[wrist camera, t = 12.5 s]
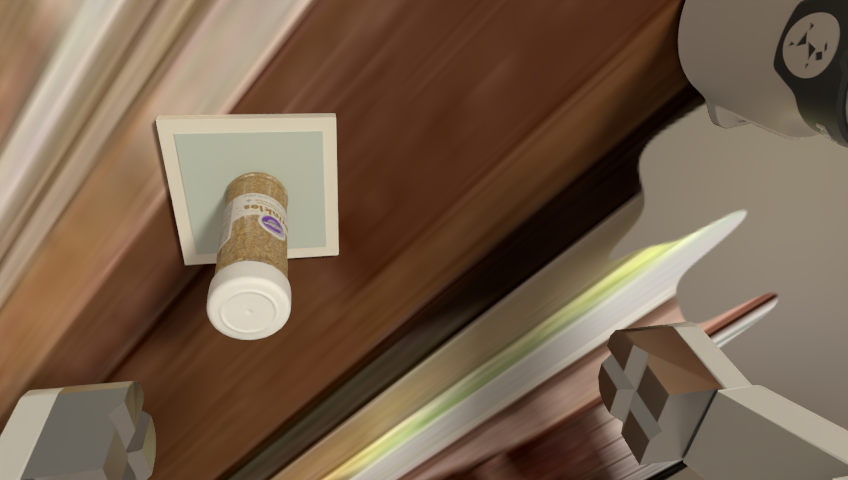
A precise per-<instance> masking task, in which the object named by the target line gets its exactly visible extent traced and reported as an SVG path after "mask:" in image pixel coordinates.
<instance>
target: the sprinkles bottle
mask: <svg viewBox="0 0 848 480" xmlns="http://www.w3.org/2000/svg"><path fill="white" fill-rule="evenodd" d="M225 200H226V207H225V211H224V214H223V220H222V226H221V233H220V239H219V246H218V252H217V259H216V261H217V264H216V269H215V276H214V278H213V279H212V281H211V283H210V286H209V292H208V298H207V314H208V317H209V320H210V321H211V323H212V324H213V326H214V327H215V328H216V329H217V330H219V331H220V332H221V333H223V334H225V335H227V336H229V337H232V338H236V339H242V340H255V339H261V338H264V337H267V336H269V335H272V334H274V333H275V332H276V331H278V330H279V329H280V328H282V327H283V325H284V324H285V323H286V321H287V320H288V317H289V315H290V311H291V288H290V284H289V282H288V279H287V277H288V275H287V272H288V265H287V264H288V263H287V261H288V260H287V258H288V257H287V249H288V218H287V206H288V194H287V192H286V189H285V188H284V186H283V185H282V183H281V182H280V181H279V180H278V179H276V178H275V177H274V176H272V175H269V174H267V173H261V172H249V173H246V174H243V175H241V176H239V177H237V178H236V179H235V180H233V181H232V182H231V183H230V184H229V186H228V189H227V191H226V197H225Z"/></svg>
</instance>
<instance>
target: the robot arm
mask: <svg viewBox="0 0 848 480" xmlns="http://www.w3.org/2000/svg"><path fill="white" fill-rule="evenodd" d="M678 51H679V57H680V62H681V65H682V68H683V71H684V73H685V75H686V77H687V78H688V80H689V81H690V83H691V84H692V85H693V86H694V87H695V88H696V89H697V90H698V91H699V92H700V93H701V94H702V95H703V97H704V98H705V100H706V103H707V108H708V112H709V116H710V118H711V121H712V122H713V123H714V124H715V125H717V126H720V127H723V128H732V127H736V126H741V125H745V124H750V123H752V124H754V125H756V126H758V127H761V128H763V129H766V130H768V131H770V132H772V133H775V134H777V135H779V136H782V137H784V138H787V139H790V140H799V139H800V138H802V137H811V136H815V135H818V134H823V135H824V136H825V137H827V138H828V139H830V140H831V141H833V142H835V143H837V144H839V145H842V146H844V147H848V0H686V1H685V4H684V7H683V10H682V14H681V19H680V24H679V32H678ZM607 347H608V348H609V350H610V351H611V353H612V354H611V355H610V356H609V357H608V358H607V359H606V360H605V361H604V362H603V363H602V364H601V368H600V372H599V376H598V379H599V391H600V394H601V397H602V400H603V402H604V404H605V406H606V408H607V410H608V411H609V413H610V414H611V415H613V416H614V417H616V418H617V419H619V420H620V421H622V422H623V426H622V432H621V434H622V436H623V437H624V439H625V441H626V443H627V444H628V446H629V448H630V449H631V451H632V453H633V455H634V456H635V458H636V460H637V461H638V463H639V465H643V464H651V463H659V462H667V461H675V460H683V459H684V461H683V462H684V463H685V464H686V465H687V466H689V467H690V468H691V469H692V470H694V471H695V472H696V473H697V474H699V475H700V476H701V477H703V478H704V479H705V480H848V431H847V430H845V429H843V428H841V427H839V426H838V425H836V424H834V423H832V422H830V421H828V420H826V419H824V418H822V417H820V416H818V415H816V414H814V413H813V412H811V411H809V410H807V409H805V408H803V407H801V406H799V405H797V404H795V403H793V402H791V401H790V400H788V399H786V398H784V397H782V396H780V395H778V394H776V393H774V392H772V391H770V390H769V389H767V388H765V387H762V386H760V385H754V386H752V385H751V384H750V383H749V382H748V381H747V379H746V378H745V377H744V376H743V375H742V374H741V373H740V372H739V370H738V369H737V368H736V367H735V366H734V365H733V364H732V362H731V361H730V360H729V359H728V358H727V357H726V356H725V355H724V353H723V352H722V351H721V350H720V349H719V348H718V347H717V346H716V344H715V343H714V342H713V341H712V340H711V339H710V338H709V337H708V335H707V334H706V333H705V332H704V331H703V330H702V329H701V328H700V326H698V325H697V324H695V323H693V322H683V323H674V324H666V325H656V326H648V327H639V328H630V329H622V330H616V331H615V332H614V333H613V334H612V335H611V336H610V339H609V342H608V345H607ZM143 401H144V394H143V392H142V389H141V386H140V384H139V382H135V381H130V382H117V383H105V384H93V385H81V386H68V387H64V388H52V389H39V390H29V391H28V392H27V393H26V394H24V395H23V396H22V397H21V398H20V399H19V401H18V403H17V405H16V407H15V409H14V411H13V413H12V415H11V417H10V418H9V420H8V422H7V424H6V426H5V428H4V430H3V432H2V434H1V436H0V480H147V479H148V478H149V477H150V476H151V474H152V470H153V465H154V460H155V447H156V437H155V429H154V424H153V421H152V418H151V415H149V414H147V413H146V412H144V411H142V410H141V408H142V404H143Z"/></svg>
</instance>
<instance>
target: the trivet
mask: <svg viewBox="0 0 848 480" xmlns="http://www.w3.org/2000/svg"><path fill="white" fill-rule="evenodd" d="M156 124H157V129H158V134H159V139H160V144H161V149H162V154H163V159H164V164H165V169H166V174H167V179H168V184H169V188H170V193H171V198H172V203H173V208H174V213H175V218H176V223H177V228H178V233H179V238H180V243H181V248H182V252H183V257H184V262H185V265H196V264H211V263H217V261H216V259H217V252H218V246H219V239H220V233H221V226H222V220H223V214H224V211H225V207H226V200H225V197H226V191H227V189H228V186H229V184H230V183H231V182H232V181H233V180H235V179H236V178H237V177H239V176H241V175H243V174H246V173H249V172H261V173H267V174H269V175H272V176H274V177H275V178H276V179H278V180H279V181H280V182H281V183H282V185H283V186H284V188H285V189H286V192H287V194H288V206H287V218H288V249H287V257H288V258H301V257H316V256H331V255H339V246H338V194H337V142H336V115H335V113H318V114H237V115H158V116H157V118H156Z"/></svg>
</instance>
